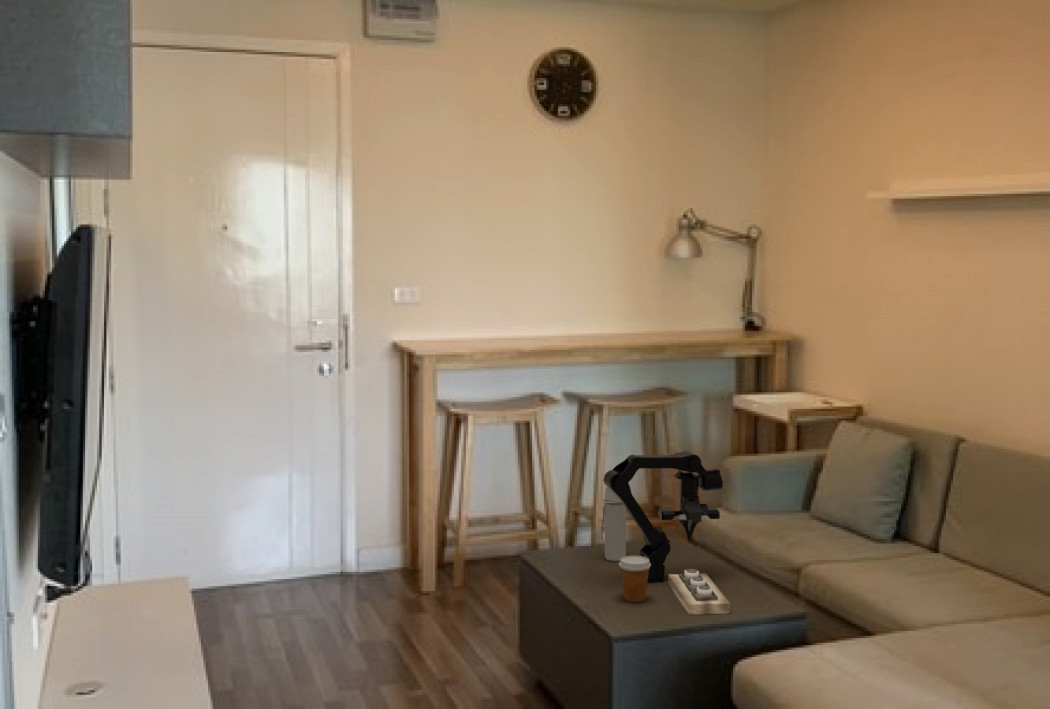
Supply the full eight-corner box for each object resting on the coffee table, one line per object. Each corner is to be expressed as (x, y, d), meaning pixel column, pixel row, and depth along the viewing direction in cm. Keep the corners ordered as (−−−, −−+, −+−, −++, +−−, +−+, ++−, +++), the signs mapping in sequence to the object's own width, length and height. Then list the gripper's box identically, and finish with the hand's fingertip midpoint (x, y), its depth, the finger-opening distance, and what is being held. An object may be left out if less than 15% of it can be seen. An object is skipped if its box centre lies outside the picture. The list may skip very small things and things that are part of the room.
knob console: (688, 614, 307) (688, 601, 307) (668, 583, 335) (668, 571, 335) (729, 613, 308) (729, 599, 308) (705, 582, 336) (706, 570, 336)
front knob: (698, 599, 311) (698, 589, 311) (695, 594, 315) (695, 584, 315) (713, 598, 311) (713, 589, 311) (709, 593, 316) (709, 584, 315)
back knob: (686, 581, 327) (686, 572, 327) (682, 577, 331) (683, 568, 331) (700, 581, 327) (700, 572, 327) (696, 576, 332) (697, 568, 331)
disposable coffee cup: (629, 606, 315) (630, 566, 314) (612, 596, 323) (612, 557, 322) (656, 600, 319) (657, 561, 318) (639, 591, 328) (639, 553, 326)
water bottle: (630, 558, 362) (631, 485, 359) (617, 563, 356) (618, 490, 353) (607, 553, 368) (608, 482, 365) (595, 558, 362) (595, 486, 359)
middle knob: (692, 590, 319) (692, 581, 319) (688, 585, 323) (689, 576, 323) (706, 589, 319) (706, 580, 319) (703, 585, 324) (703, 576, 323)
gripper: (665, 498, 331) (665, 547, 333) (724, 497, 332) (723, 546, 334) (658, 490, 342) (657, 537, 344) (715, 488, 343) (714, 536, 345)
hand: (688, 539), depth 341 cm, fingers closed
